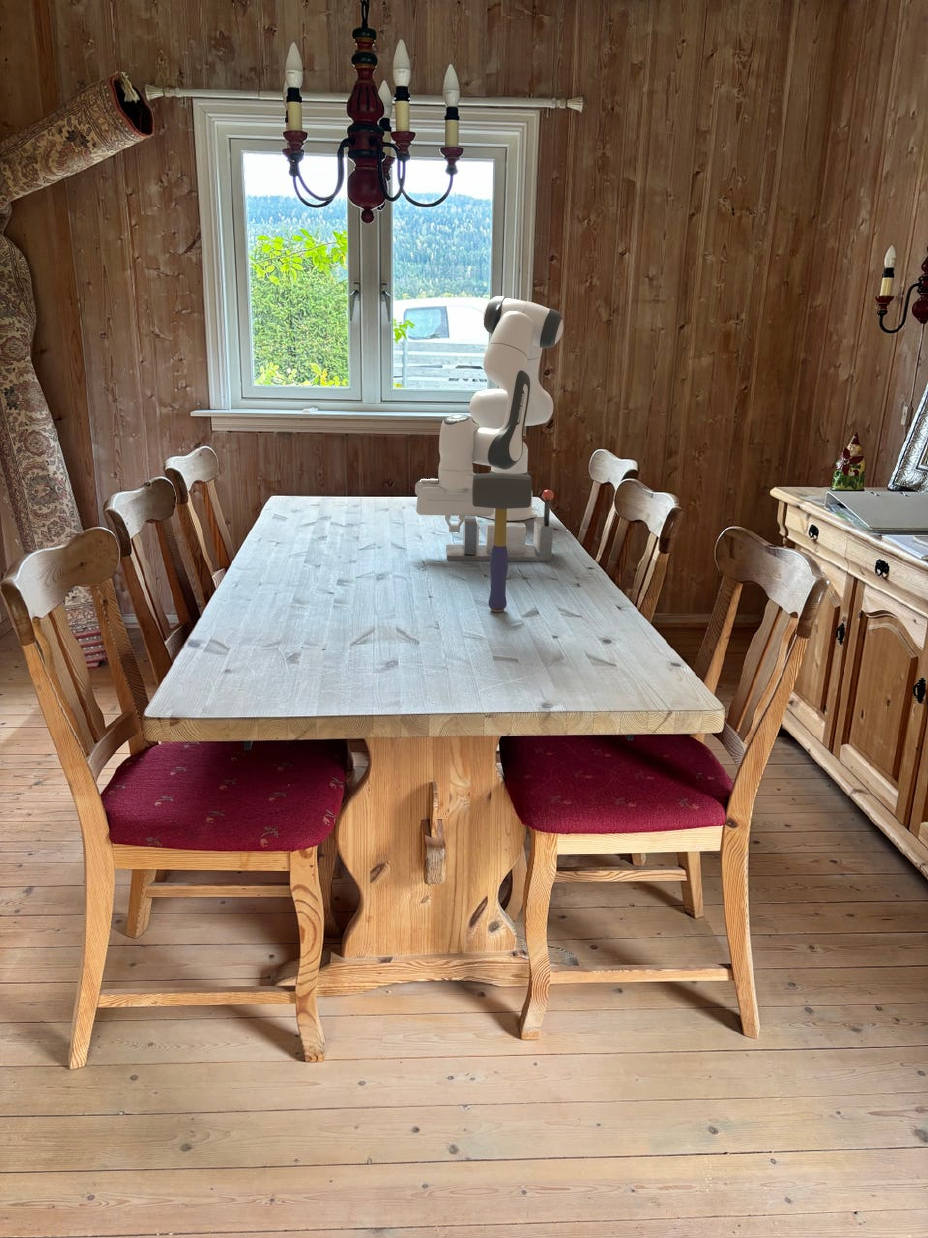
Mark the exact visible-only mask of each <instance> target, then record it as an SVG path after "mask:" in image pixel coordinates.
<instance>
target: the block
mask: <svg viewBox="0 0 928 1238" xmlns="http://www.w3.org/2000/svg"><path fill="white" fill-rule="evenodd" d="M485 525H486V529H485V534H486V535H485V545H486V551H487V553H491V552H492V547H493V545H494V528H495V522H489V521H488V522H486V524H485ZM526 532H527V526H526V524H525V522H506V547H507V553H525V546H526V541H527V540H526V538H527V536H526V535H527V533H526Z"/></svg>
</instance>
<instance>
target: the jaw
mask: <svg viewBox="0 0 928 1238" xmlns="http://www.w3.org/2000/svg"><path fill="white" fill-rule="evenodd" d="M478 521H479V520H478V519H477V518H476V516H464V521H463V523H462V524H463V528H462V529H463V531H462V545H463V548H464V554H476V550H478V548H479V545H480V544H479V542H480V541H479V540H480V538H479V537H480V525H479V522H478Z"/></svg>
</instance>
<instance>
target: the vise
mask: <svg viewBox="0 0 928 1238" xmlns="http://www.w3.org/2000/svg"><path fill="white" fill-rule="evenodd" d="M541 496H542V499H544V506H543V507H544V510H543V516H538V517H535V521H533V541H532V543H533V545H525V553H507V554H508V562H539V561H543V562H545V561H548V563H550V562H552V554H553V553H552V552H553V537H554V536H553V533H554V532H553V531H554V526H553V524H552V523H551V520H550V516H551V515H550V512H551V500H552V499H553V498H554V492H553V491H552V490H551V489H545V490H544V491H543V492H542V494H541ZM445 551H446V553H445V554H446V560H447V561H472V562H473V561H478V562H479V561H480V562H481V561H482V562H484V561H487V562H490V561H491V553H487V551H486V544H479V548H478V550H476V554H464V548H463V544H445ZM545 563H546V562H545Z"/></svg>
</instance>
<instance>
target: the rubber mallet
mask: <svg viewBox="0 0 928 1238" xmlns="http://www.w3.org/2000/svg"><path fill="white" fill-rule="evenodd" d="M532 482H533V481H532V476H531V475H530V474H528V475H523V474H511V473H490V472H487V473H486V472H485V473H476V474H474V475H473V483H472V504H473V506H475V507H485V508H495V519H494V523H495V528H494V545H493V547H492V552H491V561H489V568H490V569H489V570H490V572H489V573H490V594H489V598H488V607H489V609H490V611H492V612H495V613H499V612H501V613H502V612H504V611H505V610H506V607H507V602H508V601H507V597H506V596H507V595H506V588H507V587H506V586H507V583H506V582H507V574H508V566H509V561H508V554H507V547H506V523H508V521H507V509H511V508H528V507H530V505H531V497H532V498H533V487H532V486H533V483H532Z"/></svg>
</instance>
